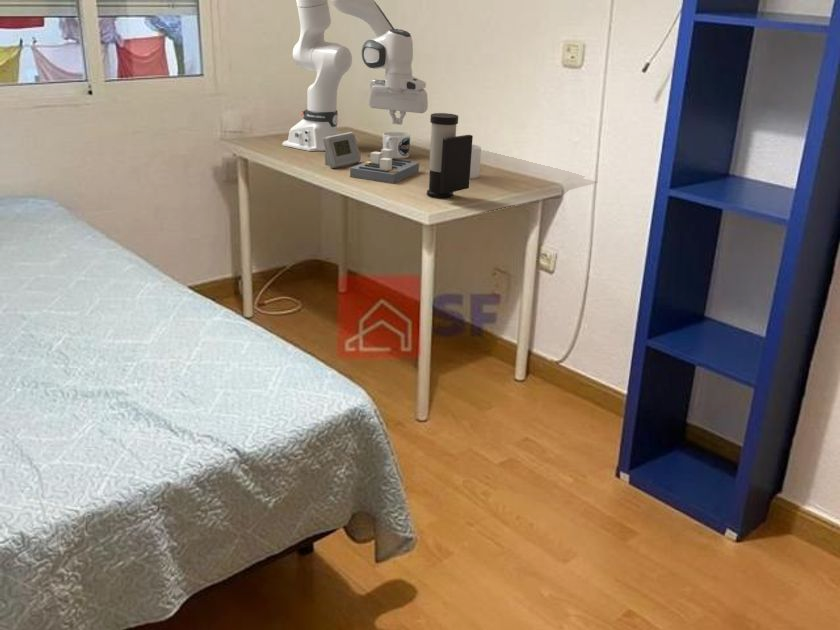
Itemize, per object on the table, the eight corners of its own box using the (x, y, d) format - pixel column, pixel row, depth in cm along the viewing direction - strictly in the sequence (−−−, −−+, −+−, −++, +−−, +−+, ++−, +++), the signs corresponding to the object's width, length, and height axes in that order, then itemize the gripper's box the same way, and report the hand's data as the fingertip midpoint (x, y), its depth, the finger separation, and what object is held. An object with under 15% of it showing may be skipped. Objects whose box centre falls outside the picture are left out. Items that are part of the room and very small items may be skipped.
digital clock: (331, 170, 281) (331, 139, 277) (315, 165, 287) (315, 134, 283) (366, 164, 292) (367, 134, 288) (350, 159, 298) (351, 130, 294)
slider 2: (380, 159, 284) (381, 149, 282) (384, 158, 286) (384, 148, 285) (388, 160, 283) (388, 150, 281) (392, 159, 285) (392, 149, 284)
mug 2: (442, 173, 284) (443, 144, 280) (457, 170, 290) (459, 141, 286) (468, 180, 277) (471, 149, 273) (483, 176, 282) (486, 147, 278)
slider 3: (379, 169, 270) (379, 159, 268) (383, 167, 272) (383, 157, 271) (387, 170, 268) (388, 160, 267) (391, 169, 271) (392, 158, 270)
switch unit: (350, 176, 273) (350, 166, 271) (377, 165, 291) (378, 155, 289) (393, 183, 267) (393, 172, 266) (418, 171, 285) (419, 161, 284)
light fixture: (442, 189, 262) (447, 111, 253) (468, 196, 256) (474, 116, 246) (416, 195, 254) (420, 114, 245) (443, 202, 247) (448, 120, 238)
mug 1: (389, 151, 314) (389, 130, 311) (414, 155, 310) (415, 133, 307) (373, 157, 303) (374, 135, 300) (399, 161, 299) (400, 139, 296)
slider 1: (370, 163, 278) (370, 152, 277) (374, 161, 280) (374, 151, 279) (378, 164, 277) (378, 154, 276) (382, 162, 279) (382, 152, 278)
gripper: (365, 79, 269) (365, 122, 275) (423, 85, 262) (421, 128, 268) (374, 77, 274) (373, 119, 280) (430, 83, 268) (428, 125, 273)
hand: (397, 124), depth 274 cm, fingers closed
